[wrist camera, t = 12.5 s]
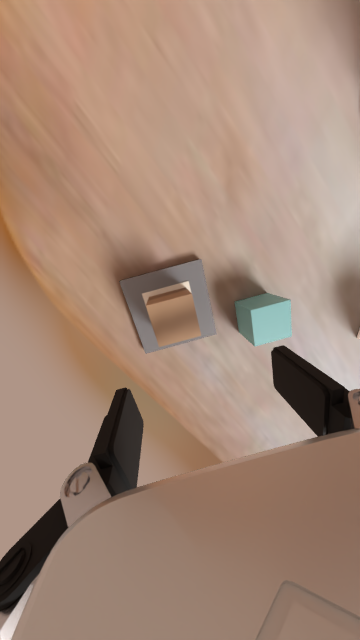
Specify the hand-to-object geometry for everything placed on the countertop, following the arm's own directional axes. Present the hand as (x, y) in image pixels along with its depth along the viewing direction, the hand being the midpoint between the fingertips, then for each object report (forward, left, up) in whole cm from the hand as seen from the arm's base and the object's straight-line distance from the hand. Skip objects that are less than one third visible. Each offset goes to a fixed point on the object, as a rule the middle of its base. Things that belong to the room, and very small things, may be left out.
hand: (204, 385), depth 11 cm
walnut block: (0, -1, -19) cm, 19 cm away
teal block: (+5, +13, -20) cm, 25 cm away
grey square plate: (0, -1, -20) cm, 20 cm away
